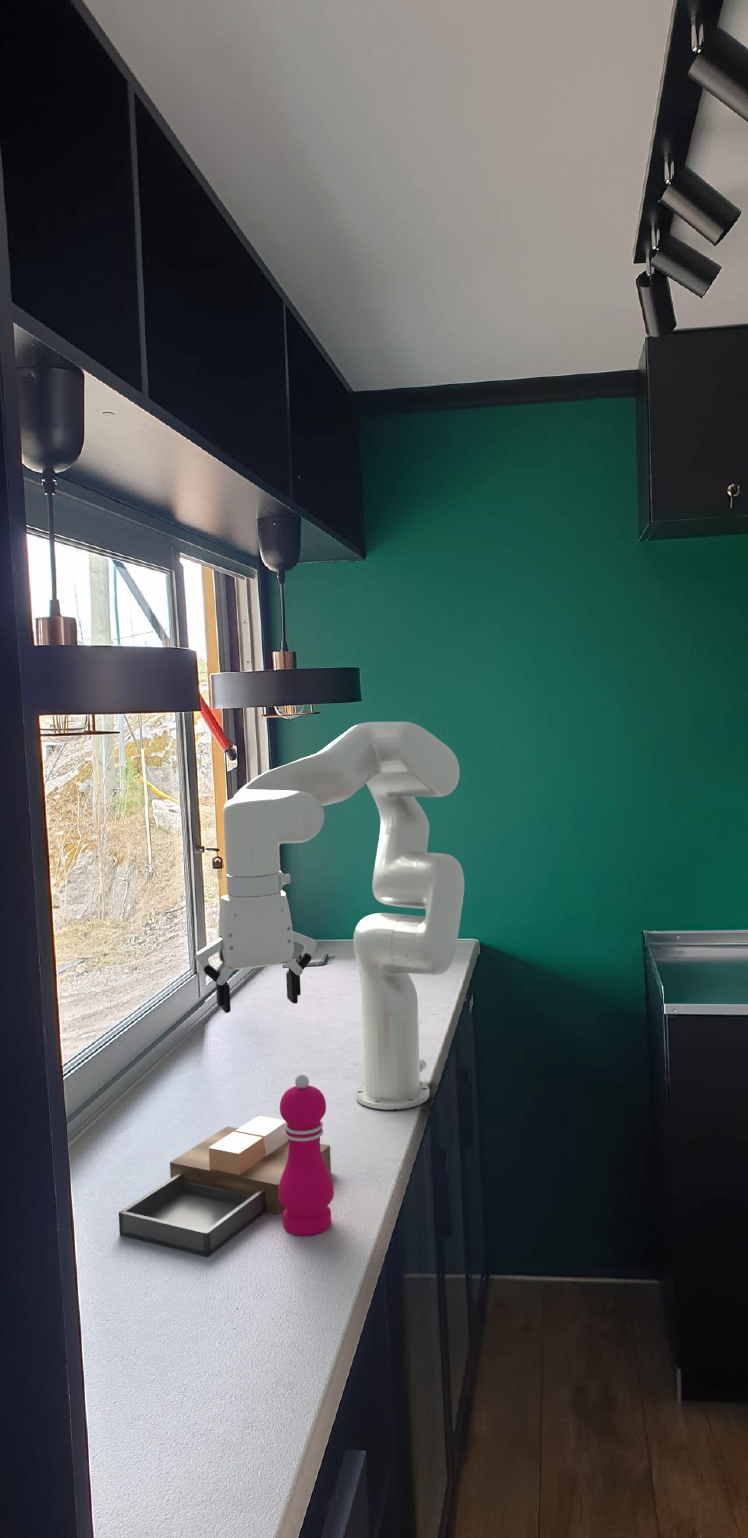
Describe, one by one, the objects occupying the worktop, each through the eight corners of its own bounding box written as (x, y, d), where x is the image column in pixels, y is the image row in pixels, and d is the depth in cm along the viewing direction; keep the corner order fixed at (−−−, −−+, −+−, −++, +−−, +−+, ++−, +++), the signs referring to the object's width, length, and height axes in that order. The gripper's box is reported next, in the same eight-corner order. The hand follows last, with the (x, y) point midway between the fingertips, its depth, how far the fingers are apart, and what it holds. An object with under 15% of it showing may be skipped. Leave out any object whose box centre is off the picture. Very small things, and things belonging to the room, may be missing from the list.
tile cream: (259, 1135, 165) (258, 1115, 165) (288, 1140, 163) (287, 1120, 163) (236, 1150, 160) (235, 1130, 160) (265, 1156, 158) (264, 1135, 158)
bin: (181, 1193, 156) (180, 1172, 156) (265, 1211, 150) (264, 1190, 149) (119, 1234, 145) (118, 1212, 144) (207, 1256, 138) (206, 1233, 138)
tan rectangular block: (234, 1151, 160) (233, 1131, 159) (263, 1157, 157) (262, 1137, 157) (209, 1168, 154) (208, 1147, 154) (239, 1174, 152) (238, 1153, 152)
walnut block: (228, 1151, 170) (227, 1126, 169) (330, 1172, 161) (330, 1145, 161) (171, 1189, 157) (169, 1162, 157) (279, 1213, 149) (278, 1184, 149)
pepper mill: (305, 1206, 151) (300, 1062, 149) (346, 1221, 146) (341, 1072, 145) (268, 1227, 145) (262, 1077, 144) (308, 1243, 141) (303, 1089, 139)
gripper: (305, 875, 162) (310, 991, 163) (187, 887, 156) (193, 1006, 157) (321, 883, 155) (326, 1004, 156) (197, 896, 149) (203, 1021, 150)
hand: (259, 1005), depth 157 cm, fingers open, 9 cm apart
